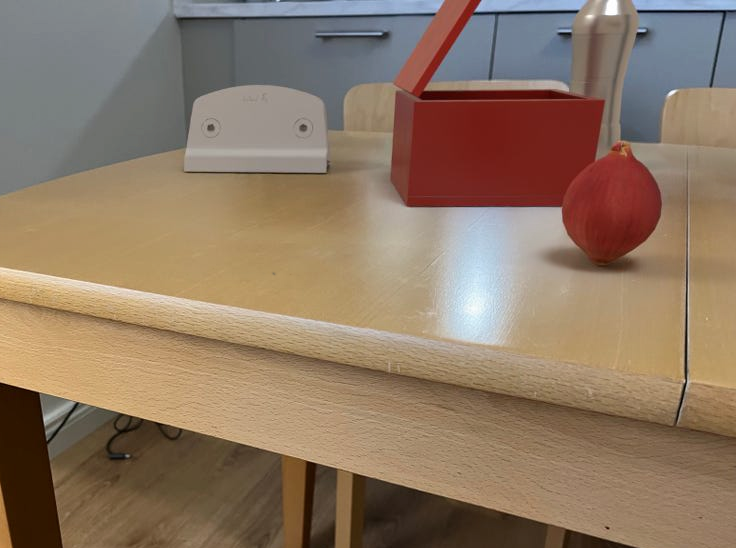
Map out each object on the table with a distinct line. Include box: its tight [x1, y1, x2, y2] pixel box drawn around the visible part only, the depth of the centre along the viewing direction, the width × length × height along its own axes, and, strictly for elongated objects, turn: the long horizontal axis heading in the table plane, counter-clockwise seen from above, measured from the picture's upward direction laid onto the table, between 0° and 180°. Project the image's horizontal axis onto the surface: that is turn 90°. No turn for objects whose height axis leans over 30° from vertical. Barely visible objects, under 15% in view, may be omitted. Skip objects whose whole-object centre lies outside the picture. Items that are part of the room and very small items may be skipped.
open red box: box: [389, 88, 605, 207], centre depth 71 cm, size 16×13×9 cm
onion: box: [561, 140, 663, 266], centre depth 48 cm, size 6×6×8 cm
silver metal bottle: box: [568, 0, 640, 161], centre depth 82 cm, size 6×7×20 cm
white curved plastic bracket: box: [183, 84, 332, 174], centre depth 85 cm, size 17×5×10 cm, turn 83°
